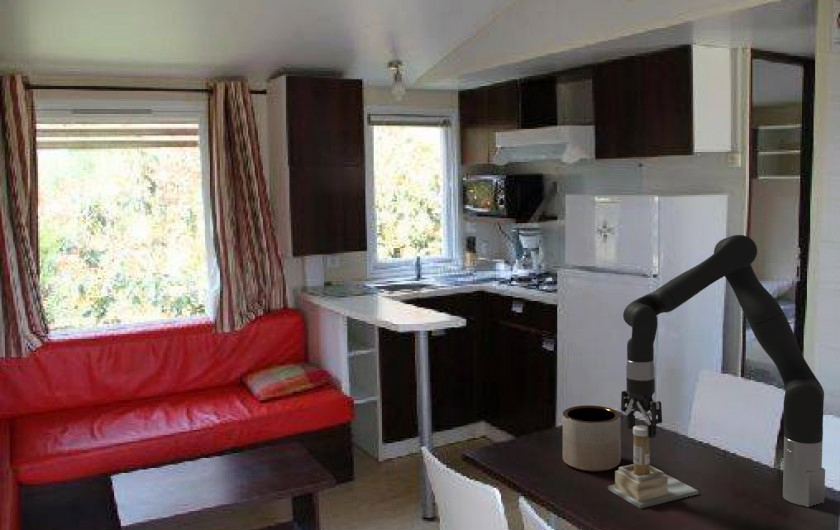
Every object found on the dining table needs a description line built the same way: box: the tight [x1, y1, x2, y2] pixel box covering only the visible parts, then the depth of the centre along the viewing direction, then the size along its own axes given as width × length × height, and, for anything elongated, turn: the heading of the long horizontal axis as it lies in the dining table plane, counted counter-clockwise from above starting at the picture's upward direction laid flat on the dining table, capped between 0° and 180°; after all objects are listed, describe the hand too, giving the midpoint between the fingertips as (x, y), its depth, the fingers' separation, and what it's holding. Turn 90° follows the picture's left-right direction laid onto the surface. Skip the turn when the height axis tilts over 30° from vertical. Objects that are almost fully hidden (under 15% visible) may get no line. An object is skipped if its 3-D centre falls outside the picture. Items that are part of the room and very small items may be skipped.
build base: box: [607, 463, 699, 509], centre depth 212 cm, size 14×20×7 cm
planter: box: [562, 404, 622, 472], centre depth 234 cm, size 18×18×16 cm
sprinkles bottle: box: [632, 424, 651, 476], centre depth 209 cm, size 5×5×14 cm
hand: (641, 432), depth 208 cm, fingers open, 8 cm apart
